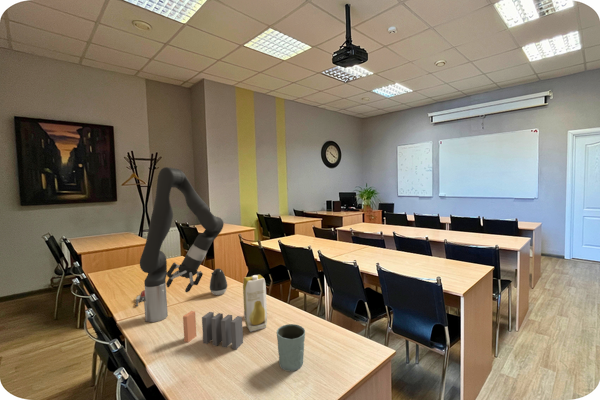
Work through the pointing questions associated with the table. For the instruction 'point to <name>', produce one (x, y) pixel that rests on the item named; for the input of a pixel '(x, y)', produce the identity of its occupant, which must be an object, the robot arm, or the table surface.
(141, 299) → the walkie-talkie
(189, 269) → the robot arm
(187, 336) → the domino
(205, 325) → the domino
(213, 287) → the black rounded cone
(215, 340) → the domino
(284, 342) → the grey green cup
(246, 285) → the juice carton
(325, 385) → the table surface
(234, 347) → the domino
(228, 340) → the domino
